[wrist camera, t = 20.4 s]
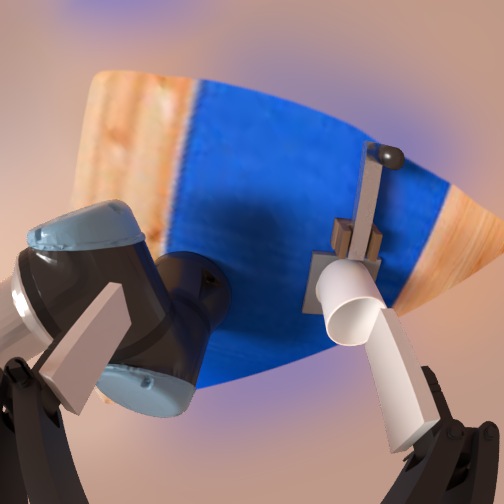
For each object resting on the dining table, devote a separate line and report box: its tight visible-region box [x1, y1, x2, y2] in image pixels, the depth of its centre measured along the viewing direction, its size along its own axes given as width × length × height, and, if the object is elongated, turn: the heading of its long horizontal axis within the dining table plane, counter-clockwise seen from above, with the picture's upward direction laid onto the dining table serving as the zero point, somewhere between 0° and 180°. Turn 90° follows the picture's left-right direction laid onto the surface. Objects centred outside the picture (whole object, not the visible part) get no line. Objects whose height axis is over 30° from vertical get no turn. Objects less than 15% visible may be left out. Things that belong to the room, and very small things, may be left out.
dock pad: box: [302, 251, 381, 314], centre depth 42 cm, size 11×11×1 cm
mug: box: [318, 258, 387, 346], centre depth 37 cm, size 12×8×10 cm
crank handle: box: [346, 140, 405, 261], centre depth 30 cm, size 2×16×8 cm, turn 177°
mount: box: [330, 218, 383, 262], centre depth 36 cm, size 6×4×5 cm, turn 87°
